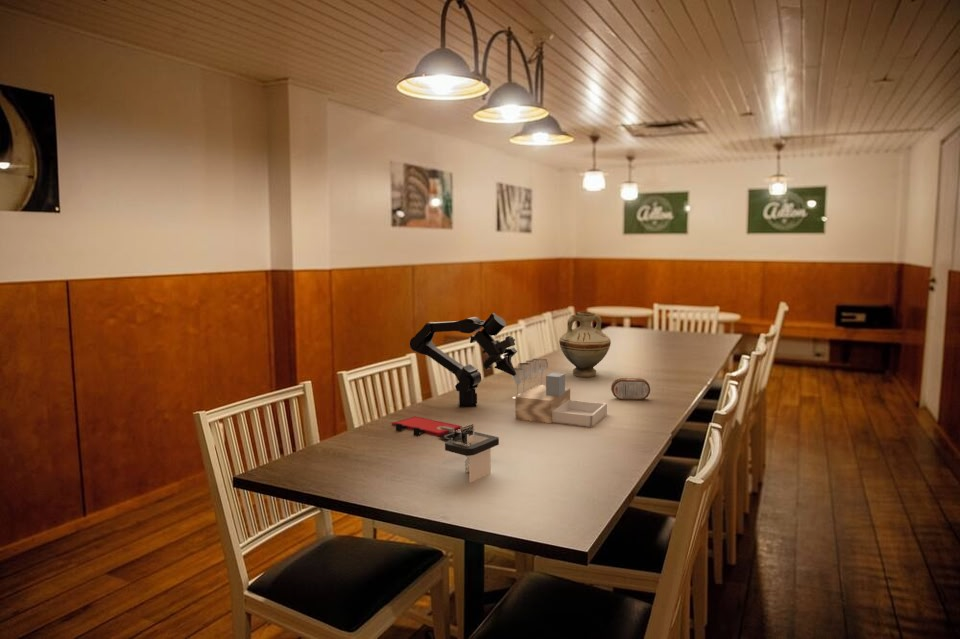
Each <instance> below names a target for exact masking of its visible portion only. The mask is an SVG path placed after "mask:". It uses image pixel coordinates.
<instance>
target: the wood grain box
mask: <svg viewBox="0 0 960 639" xmlns="http://www.w3.org/2000/svg"><path fill="white" fill-rule="evenodd" d="M538 385H539V384H538ZM538 385H537V384H536V386H533V387H530V388H529V389H527V390H526V391H525V390H524V393H523V392H522V394H521V393H519V394H520V395H518V396H517V395H516V397H515V396H514V397H515V399H514V400H515V402H514V403H515V404H514V405H515V420H520V419H522V420H521V421H528V420H529V421H530V422H536V421H537V422H538V423H544V422H545V424H553V423H552V411H553V410H555V409H556V408H558V407H559V406H561V405H562V404H564V403H565V402H567V401H568V400H571V388H568V387H565V393H564V394H562V395H561V396H550V395H546V385H545V386H538Z"/></svg>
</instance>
